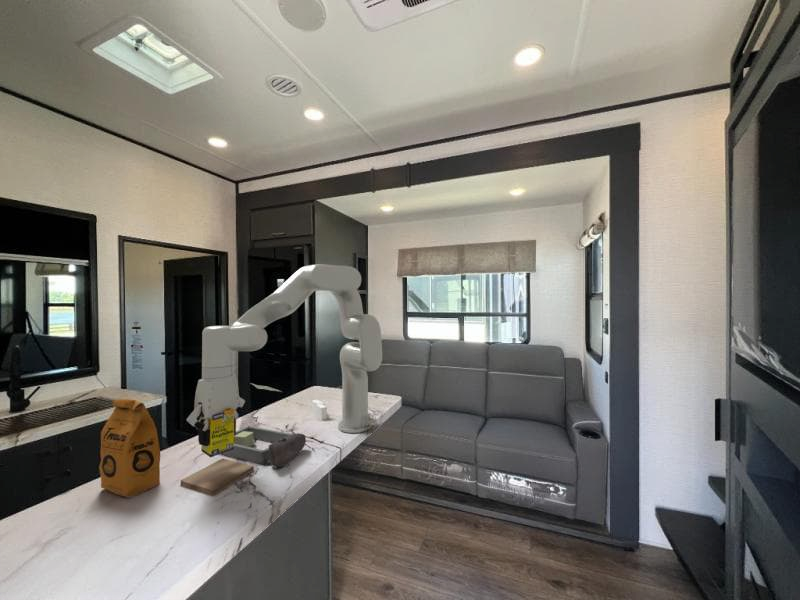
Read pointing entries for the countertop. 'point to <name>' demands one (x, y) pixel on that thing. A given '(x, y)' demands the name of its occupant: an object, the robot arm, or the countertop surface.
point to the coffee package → (129, 450)
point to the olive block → (244, 438)
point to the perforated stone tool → (286, 449)
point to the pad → (217, 476)
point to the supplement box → (220, 433)
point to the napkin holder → (319, 409)
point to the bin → (254, 453)
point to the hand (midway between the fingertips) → (218, 438)
